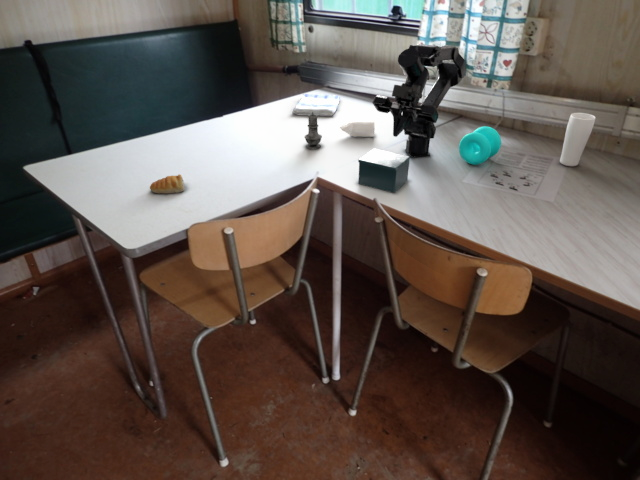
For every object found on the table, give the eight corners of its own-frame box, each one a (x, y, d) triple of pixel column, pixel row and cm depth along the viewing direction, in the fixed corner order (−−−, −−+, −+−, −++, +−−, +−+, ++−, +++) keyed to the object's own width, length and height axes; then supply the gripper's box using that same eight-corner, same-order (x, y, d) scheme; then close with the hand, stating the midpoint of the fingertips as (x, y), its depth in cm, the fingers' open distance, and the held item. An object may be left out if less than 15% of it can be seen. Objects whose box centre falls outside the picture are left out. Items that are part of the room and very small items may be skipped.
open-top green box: (394, 193, 127) (396, 170, 123) (358, 183, 132) (359, 161, 128) (407, 181, 133) (409, 159, 129) (372, 172, 138) (373, 151, 134)
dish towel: (291, 115, 185) (291, 108, 183) (302, 98, 204) (302, 92, 203) (333, 117, 182) (333, 110, 181) (341, 99, 202) (341, 93, 200)
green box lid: (395, 171, 123) (395, 168, 122) (358, 162, 128) (358, 159, 127) (409, 158, 129) (410, 156, 129) (373, 151, 134) (373, 148, 134)
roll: (339, 133, 167) (339, 118, 164) (372, 133, 167) (373, 118, 164) (340, 139, 162) (340, 123, 159) (374, 139, 162) (374, 123, 159)
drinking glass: (580, 161, 143) (595, 114, 135) (580, 169, 138) (596, 120, 130) (556, 157, 146) (570, 111, 138) (556, 166, 141) (570, 117, 132)
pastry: (151, 197, 126) (148, 184, 124) (150, 187, 132) (147, 175, 130) (186, 192, 129) (183, 179, 127) (184, 182, 134) (181, 170, 132)
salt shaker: (320, 150, 153) (319, 115, 147) (303, 149, 154) (301, 114, 148) (323, 144, 158) (323, 109, 152) (306, 143, 159) (305, 108, 153)
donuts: (455, 161, 145) (459, 130, 139) (470, 151, 151) (475, 122, 145) (484, 169, 139) (490, 138, 133) (499, 159, 145) (505, 129, 140)
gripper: (376, 66, 129) (356, 117, 128) (440, 76, 121) (419, 131, 120) (387, 86, 139) (369, 133, 138) (446, 96, 131) (427, 147, 130)
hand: (394, 136), depth 131 cm, fingers closed
